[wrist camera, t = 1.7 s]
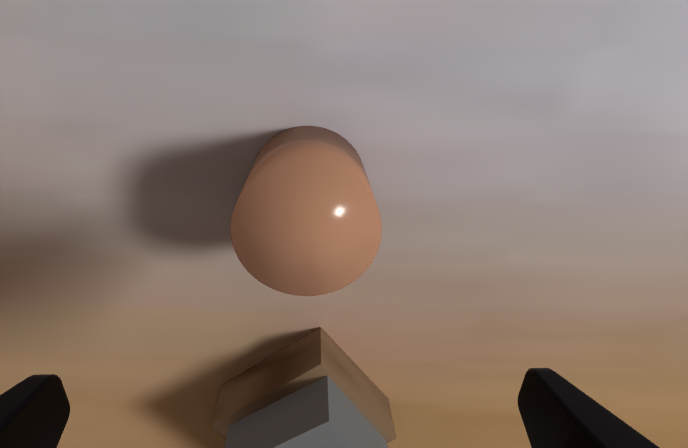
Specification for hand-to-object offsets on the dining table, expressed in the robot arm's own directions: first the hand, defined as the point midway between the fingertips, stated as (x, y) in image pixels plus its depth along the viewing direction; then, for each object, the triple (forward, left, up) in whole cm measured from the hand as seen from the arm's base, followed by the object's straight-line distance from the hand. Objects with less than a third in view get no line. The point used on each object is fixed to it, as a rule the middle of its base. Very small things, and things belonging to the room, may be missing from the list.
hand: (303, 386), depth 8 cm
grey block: (-8, -10, -9) cm, 16 cm away
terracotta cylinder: (0, 0, -11) cm, 11 cm away
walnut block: (-8, -10, -12) cm, 17 cm away
